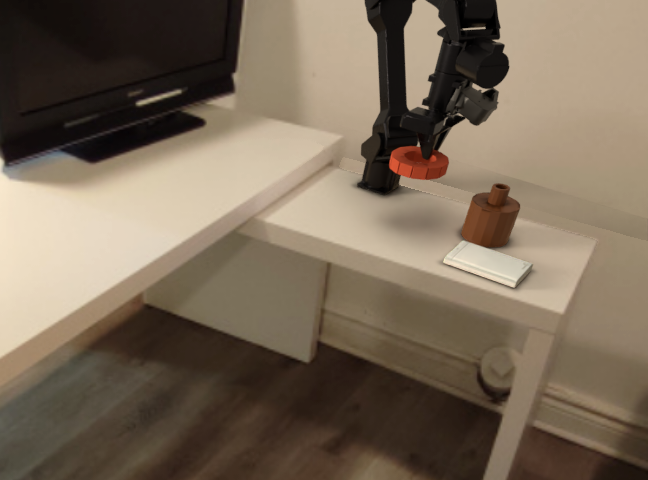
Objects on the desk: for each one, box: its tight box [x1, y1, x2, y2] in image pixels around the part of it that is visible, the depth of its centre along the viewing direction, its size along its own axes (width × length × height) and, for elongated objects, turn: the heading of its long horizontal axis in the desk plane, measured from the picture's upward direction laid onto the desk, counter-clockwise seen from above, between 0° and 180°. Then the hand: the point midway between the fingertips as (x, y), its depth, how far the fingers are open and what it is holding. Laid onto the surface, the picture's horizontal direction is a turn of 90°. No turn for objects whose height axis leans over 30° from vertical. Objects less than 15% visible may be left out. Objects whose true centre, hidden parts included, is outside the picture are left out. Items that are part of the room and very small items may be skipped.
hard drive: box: [443, 239, 534, 289], centre depth 138 cm, size 2×8×12 cm
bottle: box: [460, 182, 521, 249], centre depth 144 cm, size 8×8×10 cm
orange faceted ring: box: [389, 145, 450, 181], centre depth 143 cm, size 10×10×2 cm
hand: (428, 157), depth 145 cm, fingers closed on orange faceted ring, 2 cm apart
